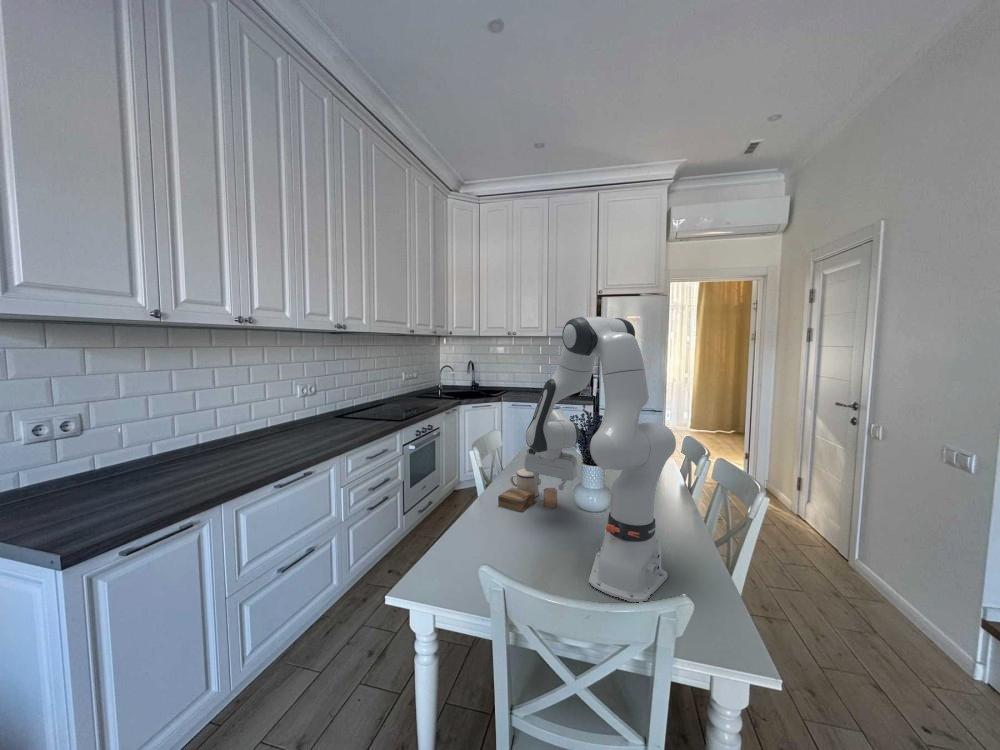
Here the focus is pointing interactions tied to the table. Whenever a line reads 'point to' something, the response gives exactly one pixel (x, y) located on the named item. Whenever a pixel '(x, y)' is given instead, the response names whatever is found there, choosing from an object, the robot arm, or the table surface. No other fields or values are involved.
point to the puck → (550, 498)
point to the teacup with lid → (525, 481)
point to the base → (516, 499)
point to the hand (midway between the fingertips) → (549, 486)
